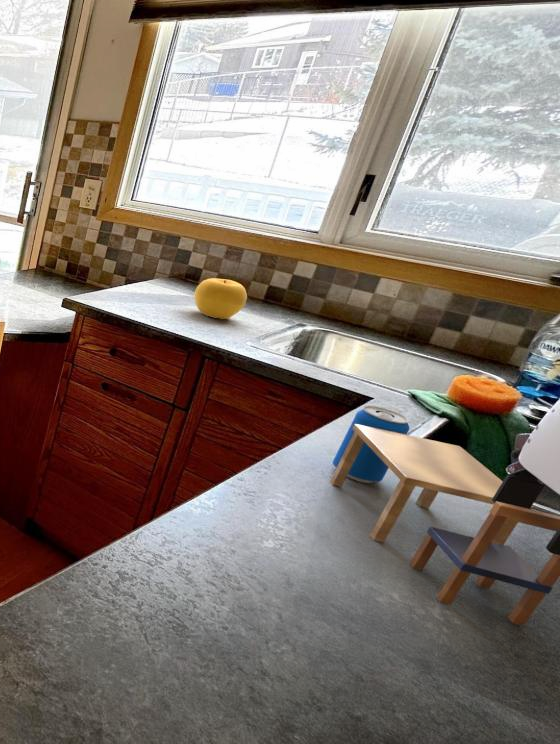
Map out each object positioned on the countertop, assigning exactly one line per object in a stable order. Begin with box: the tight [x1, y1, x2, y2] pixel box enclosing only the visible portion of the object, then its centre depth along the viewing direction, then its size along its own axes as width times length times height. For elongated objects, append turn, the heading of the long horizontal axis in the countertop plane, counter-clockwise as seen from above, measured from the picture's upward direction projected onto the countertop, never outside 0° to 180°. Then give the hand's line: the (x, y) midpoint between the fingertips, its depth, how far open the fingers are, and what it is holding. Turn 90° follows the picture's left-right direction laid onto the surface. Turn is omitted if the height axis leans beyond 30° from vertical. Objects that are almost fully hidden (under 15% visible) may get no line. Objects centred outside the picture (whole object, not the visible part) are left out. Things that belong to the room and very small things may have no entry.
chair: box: [409, 501, 560, 627], centre depth 77 cm, size 8×8×15 cm
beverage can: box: [332, 405, 410, 484], centre depth 103 cm, size 6×6×12 cm
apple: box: [194, 277, 248, 320], centre depth 184 cm, size 13×13×11 cm
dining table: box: [329, 424, 534, 545], centre depth 92 cm, size 13×17×11 cm
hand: (535, 529), depth 72 cm, fingers open, 9 cm apart
